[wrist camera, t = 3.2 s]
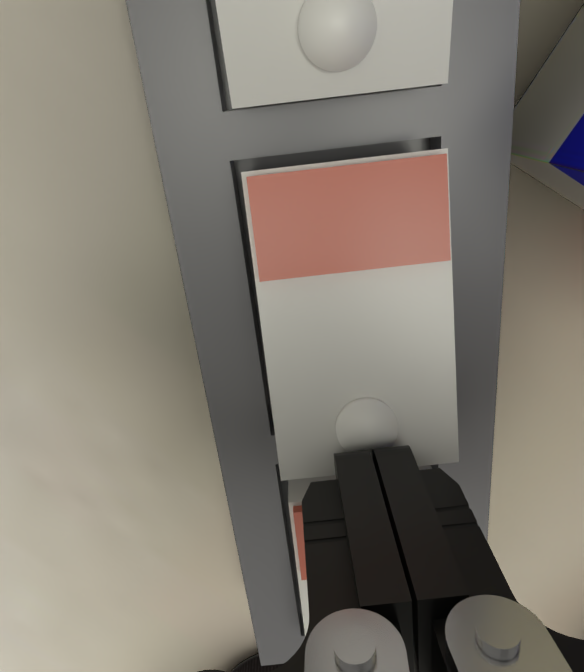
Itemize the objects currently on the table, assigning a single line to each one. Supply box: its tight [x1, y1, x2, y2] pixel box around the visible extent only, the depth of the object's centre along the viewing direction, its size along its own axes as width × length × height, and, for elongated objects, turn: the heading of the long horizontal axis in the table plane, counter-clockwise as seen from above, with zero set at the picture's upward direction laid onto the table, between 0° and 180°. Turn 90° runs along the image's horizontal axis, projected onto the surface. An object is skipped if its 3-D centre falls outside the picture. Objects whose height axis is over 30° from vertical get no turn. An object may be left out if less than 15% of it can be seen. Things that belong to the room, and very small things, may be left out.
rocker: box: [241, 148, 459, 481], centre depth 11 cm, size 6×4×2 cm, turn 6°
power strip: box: [126, 0, 520, 666], centre depth 13 cm, size 26×7×3 cm, turn 6°
